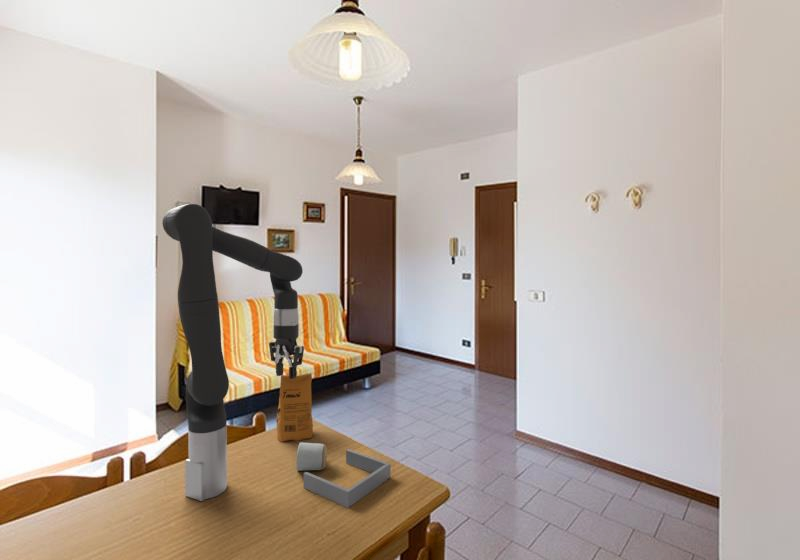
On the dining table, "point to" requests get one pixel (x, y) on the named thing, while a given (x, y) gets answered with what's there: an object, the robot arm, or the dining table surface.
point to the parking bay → (357, 491)
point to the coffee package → (295, 408)
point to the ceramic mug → (311, 456)
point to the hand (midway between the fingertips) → (286, 376)
